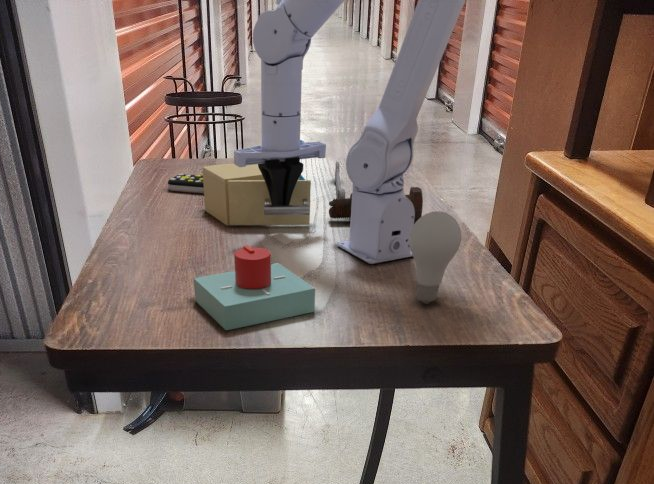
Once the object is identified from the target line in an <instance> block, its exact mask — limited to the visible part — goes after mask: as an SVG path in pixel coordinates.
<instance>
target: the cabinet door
mask: <svg viewBox="0 0 654 484" xmlns="http://www.w3.org/2000/svg"><path fill="white" fill-rule="evenodd" d="M311 183H312V180H311V179H305V180H298V181H297V183H296V185H295V188H294V190H293V193H292V196H291V200H290V204H289V205H272V204H271V199H270V195H269V192H268V188H267V185H266V183H265V180H228V193H229V214H230V225H229V226H310V225H311V224H310V223H311V222H310V221H311V187H312V185H311Z"/></svg>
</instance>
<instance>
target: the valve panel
mask: <svg viewBox="0 0 654 484" xmlns="http://www.w3.org/2000/svg"><path fill="white" fill-rule="evenodd" d="M193 288H194V290H193V291H194V300H195V302H196V303H197V304H198V305H199V306H200V307H201V308H202V309H203V310H204V311H205V312H206V313H207V314H208V315H209V316H211V318H212V319H213V320H214V321H215V322H217V324H218V325H220V326H221V327H222V328H223V330H225V331H231V330H236V329H240V328H244V327H248V326H254V325H258V324H263V323H269V322H272V321H277V320H278V321H279V320H282V319H287V318H291V317H296V316H302V315H306V314H311V313H315V309H316V287H314V286H312V285H311V284H310V283H308V282H307V281H306V280H304V279H302V278H301V277H299V276H298V275H296V274H295V273H294V272H292V271H291V270H289V269H288V268H287V267H285V266H283V265H282V264H280V263H279V262H276V263H271V284H270V285H269V286H267V287H264V288H260V289H245V288H241V287H239V286H237V285H236V282H235V270H231V271H226V272H220V273H214V274H209V275H203V276H198V277H194V278H193Z"/></svg>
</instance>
